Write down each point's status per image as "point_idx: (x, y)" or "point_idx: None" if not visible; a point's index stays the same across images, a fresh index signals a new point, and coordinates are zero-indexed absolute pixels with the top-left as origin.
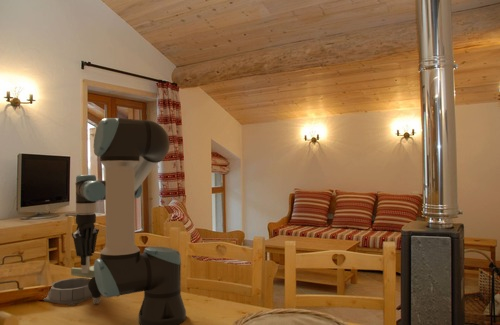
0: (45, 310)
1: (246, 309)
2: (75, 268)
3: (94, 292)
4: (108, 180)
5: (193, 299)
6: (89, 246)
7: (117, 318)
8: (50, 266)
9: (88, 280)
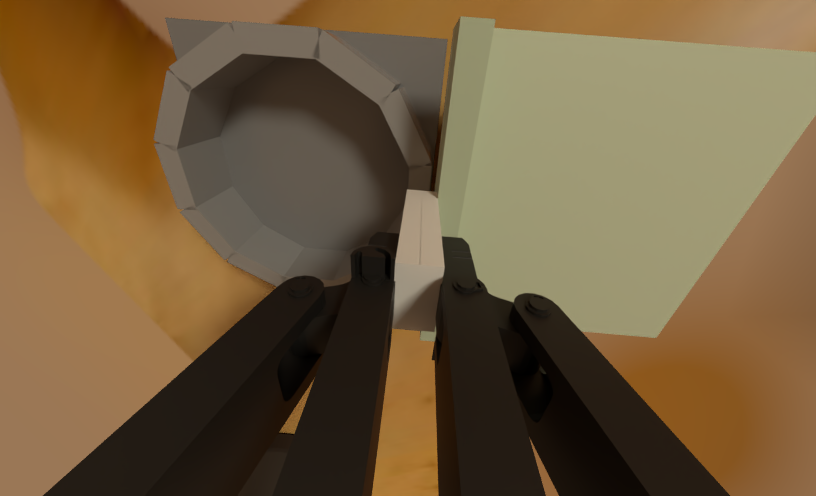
0: (133, 187)
1: None
2: (457, 84)
3: None
4: None
5: (433, 472)
6: (440, 457)
7: None
8: None
9: (398, 233)
